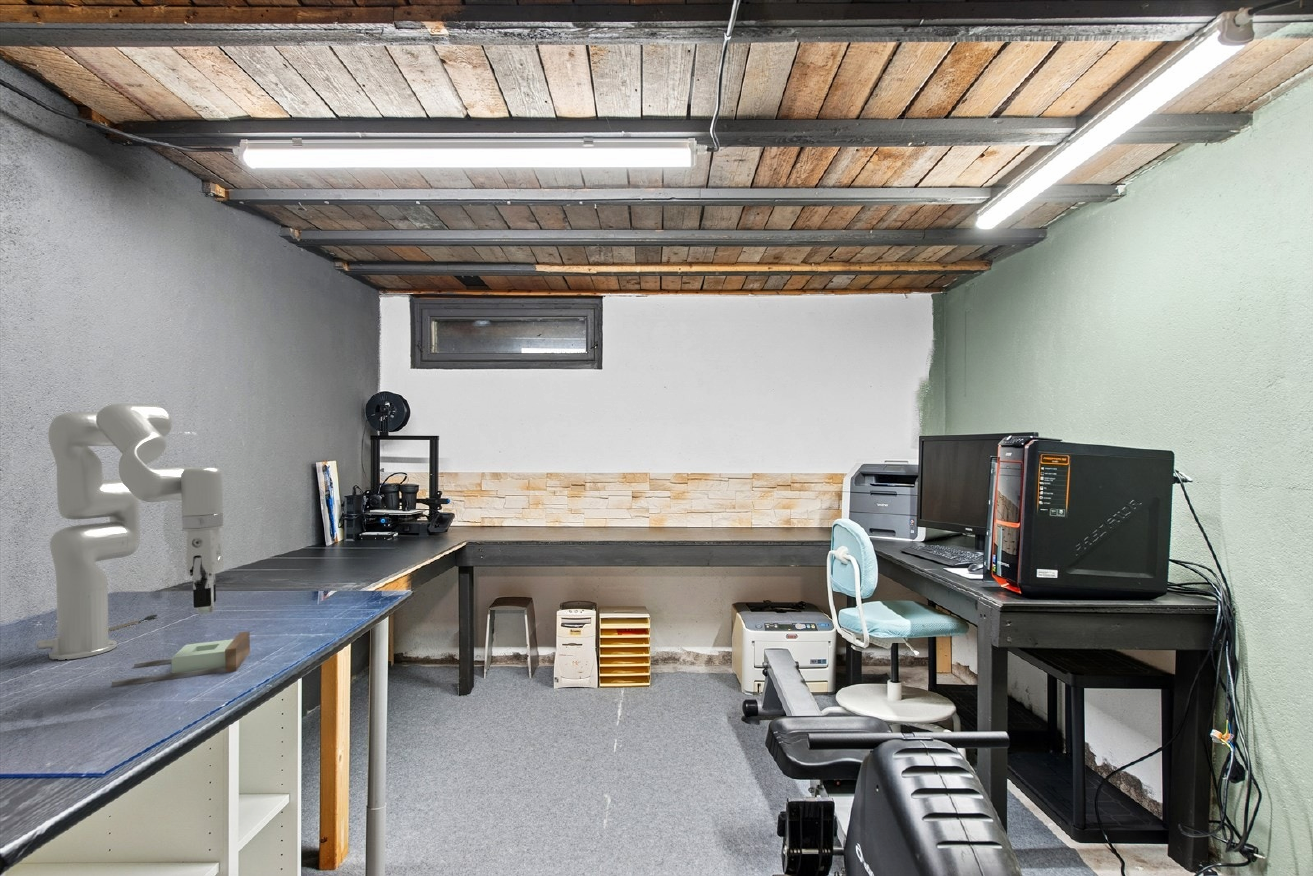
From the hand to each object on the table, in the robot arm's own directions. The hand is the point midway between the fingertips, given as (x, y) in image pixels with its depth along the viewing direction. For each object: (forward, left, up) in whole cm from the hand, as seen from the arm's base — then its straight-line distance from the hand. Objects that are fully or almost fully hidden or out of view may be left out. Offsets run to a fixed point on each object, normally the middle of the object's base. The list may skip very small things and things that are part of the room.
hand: (205, 604), depth 145 cm
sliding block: (0, 0, -14) cm, 14 cm away
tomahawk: (-32, +55, -16) cm, 65 cm away
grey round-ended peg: (0, 0, -2) cm, 2 cm away
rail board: (-6, 0, -15) cm, 16 cm away
